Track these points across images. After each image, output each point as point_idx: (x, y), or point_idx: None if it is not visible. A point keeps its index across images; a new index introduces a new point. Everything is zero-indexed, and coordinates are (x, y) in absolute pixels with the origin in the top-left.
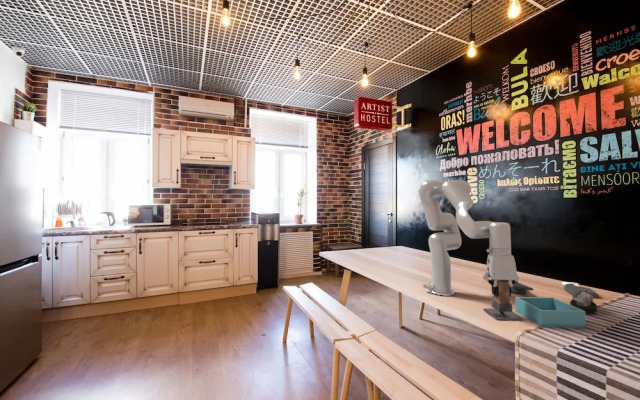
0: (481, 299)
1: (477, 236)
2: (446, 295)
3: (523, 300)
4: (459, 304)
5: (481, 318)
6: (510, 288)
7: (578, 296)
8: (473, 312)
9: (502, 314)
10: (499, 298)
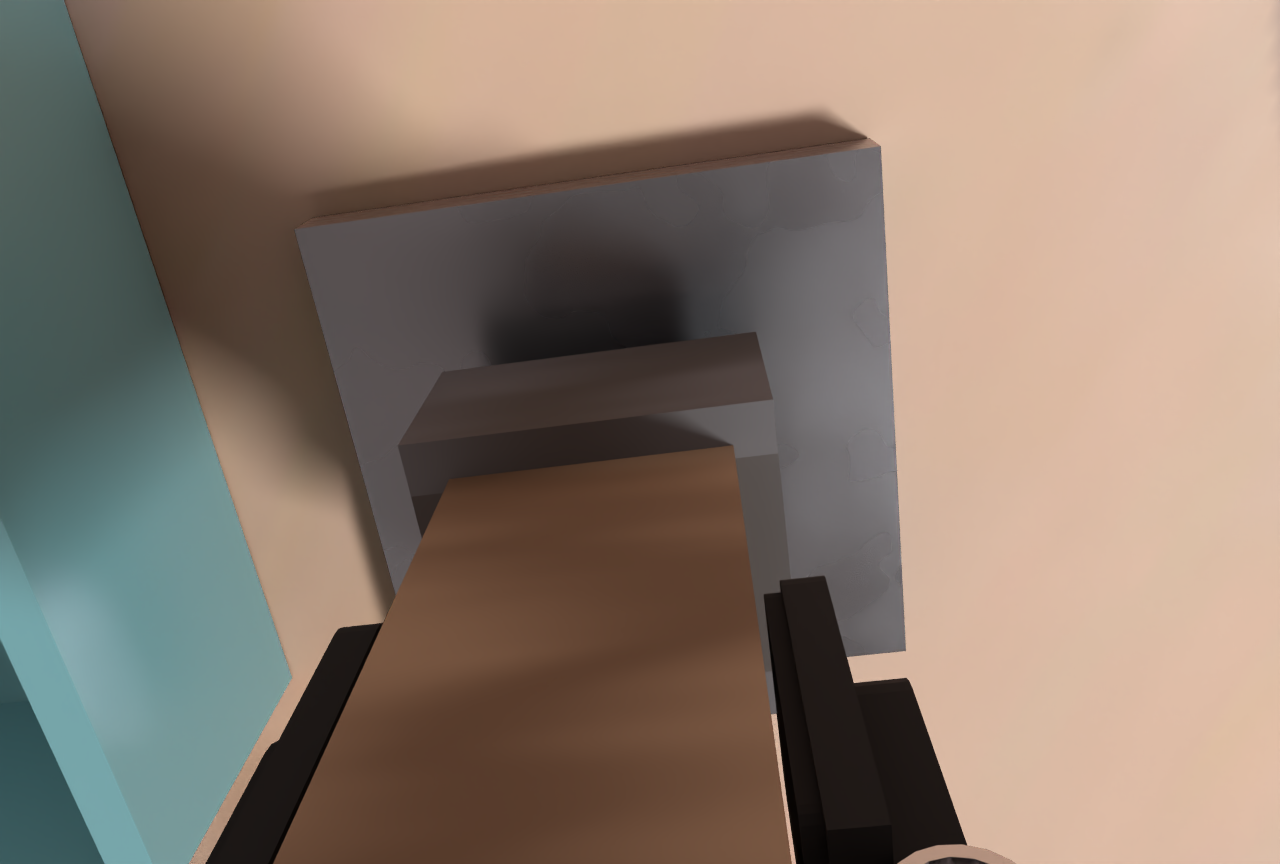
0: None
1: None
2: None
3: (24, 827)
4: (1215, 855)
5: (1163, 184)
6: (237, 837)
7: None
8: (1156, 502)
9: None
10: (738, 521)
